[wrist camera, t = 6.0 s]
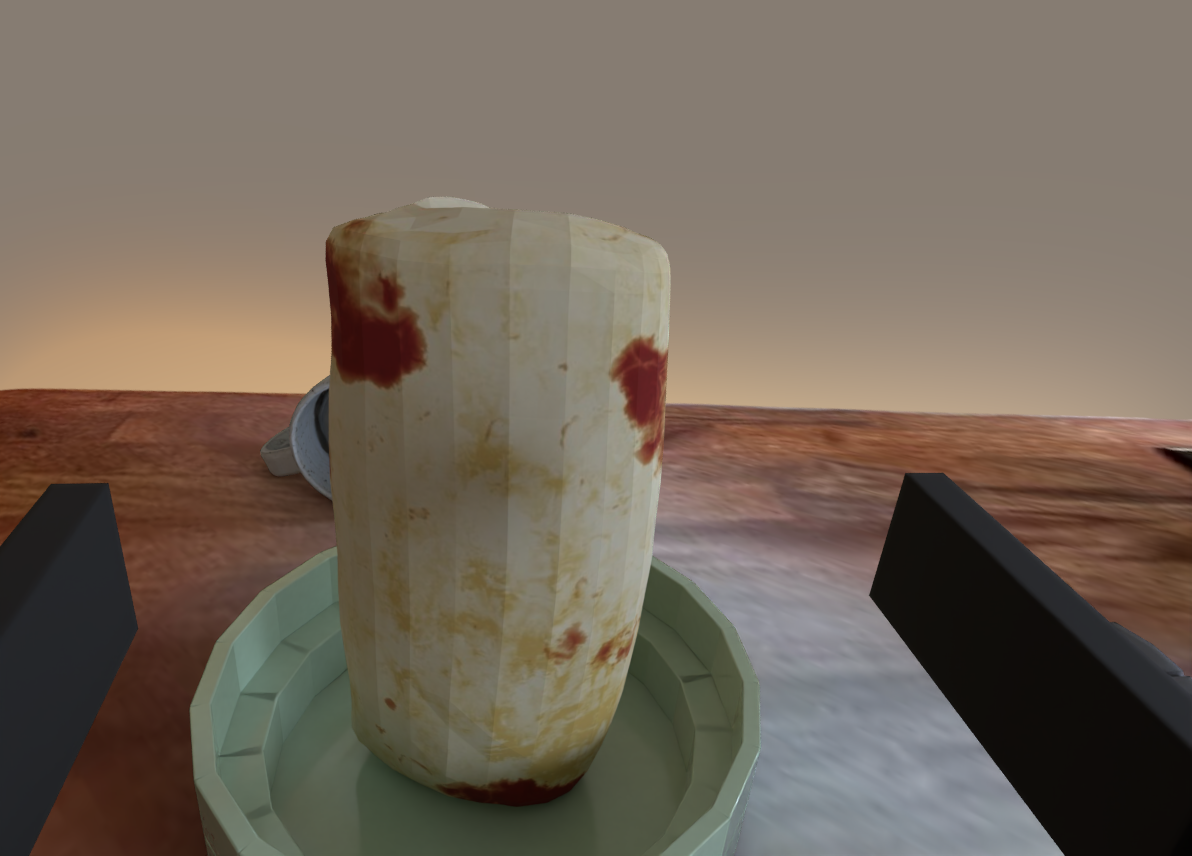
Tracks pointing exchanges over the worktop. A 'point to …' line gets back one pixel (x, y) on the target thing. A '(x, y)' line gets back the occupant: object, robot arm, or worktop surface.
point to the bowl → (451, 825)
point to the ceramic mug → (304, 442)
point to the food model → (493, 485)
